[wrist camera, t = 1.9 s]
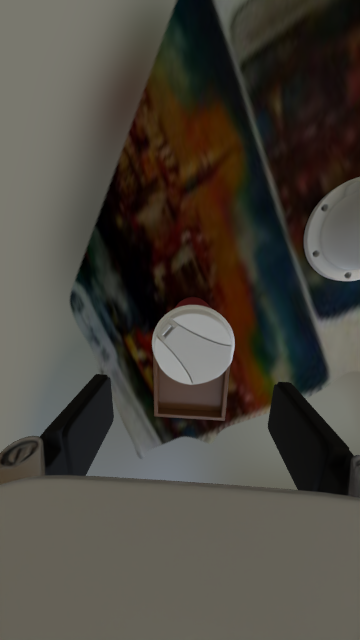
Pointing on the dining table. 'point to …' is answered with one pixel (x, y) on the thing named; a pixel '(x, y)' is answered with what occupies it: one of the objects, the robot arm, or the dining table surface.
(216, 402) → the tray
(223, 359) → the paper cup
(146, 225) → the dining table surface
